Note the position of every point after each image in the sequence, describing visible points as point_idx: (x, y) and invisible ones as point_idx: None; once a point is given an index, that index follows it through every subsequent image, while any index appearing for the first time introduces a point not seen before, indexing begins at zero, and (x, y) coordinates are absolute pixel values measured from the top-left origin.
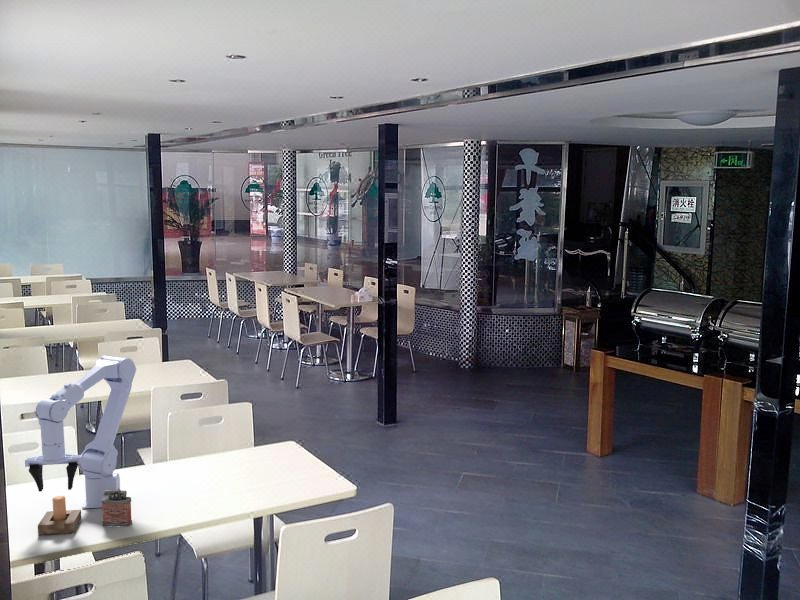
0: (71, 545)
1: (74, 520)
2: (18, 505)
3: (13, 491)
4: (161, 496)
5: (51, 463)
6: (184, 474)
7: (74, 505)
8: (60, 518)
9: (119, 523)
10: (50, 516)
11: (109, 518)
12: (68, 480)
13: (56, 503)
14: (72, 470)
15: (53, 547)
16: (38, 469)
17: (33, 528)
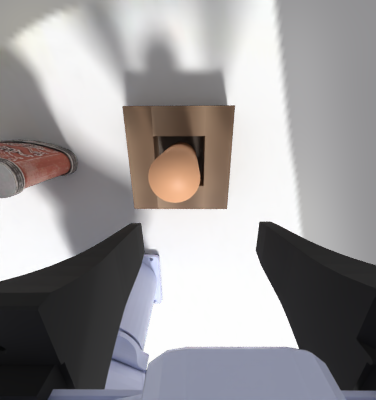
0: (110, 13)
1: (125, 128)
2: None
3: None
4: None
5: (212, 386)
6: None
7: (182, 273)
8: (172, 145)
9: (18, 142)
10: (209, 172)
11: (35, 149)
12: (116, 242)
13: (179, 151)
14: (18, 282)
15: (162, 4)
16: (363, 320)
17: (249, 163)
